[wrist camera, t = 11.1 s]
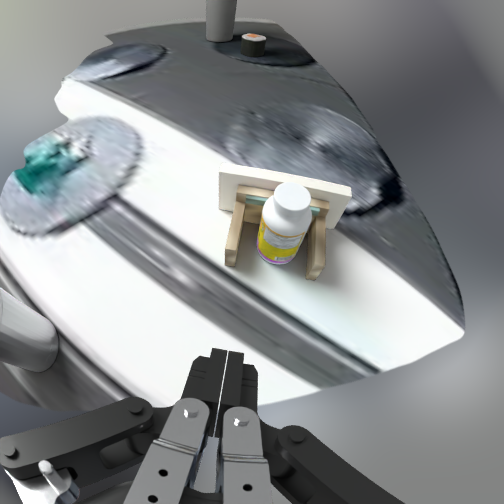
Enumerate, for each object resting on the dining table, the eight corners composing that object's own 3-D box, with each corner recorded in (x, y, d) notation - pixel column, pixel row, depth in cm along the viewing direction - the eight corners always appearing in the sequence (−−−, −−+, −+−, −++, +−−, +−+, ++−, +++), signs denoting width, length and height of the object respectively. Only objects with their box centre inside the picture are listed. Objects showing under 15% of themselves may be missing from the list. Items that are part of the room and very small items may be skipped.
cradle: (224, 265, 43) (225, 240, 37) (236, 212, 48) (238, 184, 42) (315, 280, 43) (329, 259, 37) (316, 227, 48) (329, 201, 42)
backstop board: (218, 209, 48) (218, 171, 40) (221, 200, 49) (221, 162, 41) (333, 229, 48) (351, 196, 41) (333, 220, 49) (350, 187, 42)
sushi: (253, 58, 83) (255, 39, 76) (236, 52, 85) (237, 34, 78) (268, 54, 86) (270, 36, 79) (251, 48, 88) (253, 31, 81)
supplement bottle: (270, 223, 48) (284, 168, 37) (304, 244, 46) (327, 193, 35) (247, 250, 45) (255, 197, 34) (282, 274, 43) (303, 226, 32)
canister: (235, 35, 96) (242, -33, 66) (233, 43, 90) (240, -32, 60) (206, 35, 95) (209, -33, 65) (201, 43, 89) (204, -33, 59)
